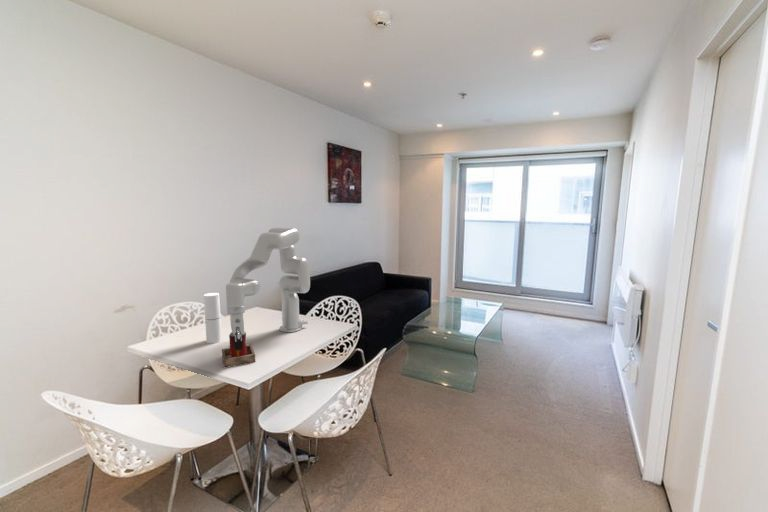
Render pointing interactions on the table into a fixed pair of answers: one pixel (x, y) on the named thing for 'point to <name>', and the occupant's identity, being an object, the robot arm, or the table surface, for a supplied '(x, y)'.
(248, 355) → the tray
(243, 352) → the soda can
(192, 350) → the table surface
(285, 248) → the robot arm
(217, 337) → the cylindrical container
